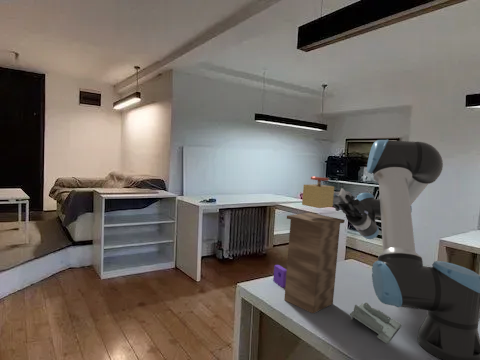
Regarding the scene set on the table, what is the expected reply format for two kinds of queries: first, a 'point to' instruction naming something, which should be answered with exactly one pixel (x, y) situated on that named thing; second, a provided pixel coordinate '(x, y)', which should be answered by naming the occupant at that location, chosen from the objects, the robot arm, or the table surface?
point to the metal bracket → (376, 321)
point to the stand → (312, 260)
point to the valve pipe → (321, 194)
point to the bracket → (280, 275)
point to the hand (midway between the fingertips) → (334, 190)
